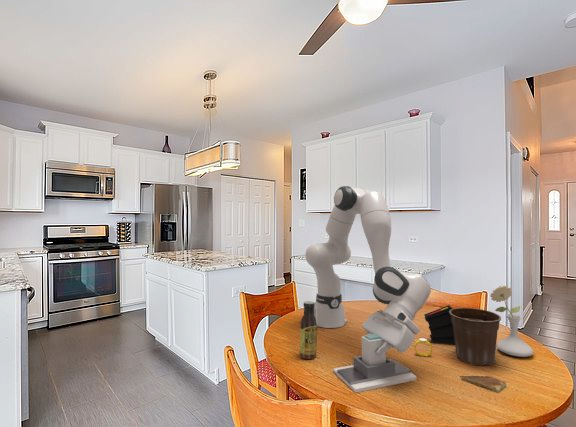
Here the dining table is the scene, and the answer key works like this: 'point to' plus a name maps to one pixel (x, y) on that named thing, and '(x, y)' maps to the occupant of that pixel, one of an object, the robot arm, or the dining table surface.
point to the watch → (423, 342)
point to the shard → (486, 382)
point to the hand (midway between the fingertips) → (372, 350)
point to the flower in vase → (511, 326)
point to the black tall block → (441, 326)
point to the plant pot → (475, 335)
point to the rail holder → (373, 374)
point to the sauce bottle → (308, 332)
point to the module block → (372, 350)
